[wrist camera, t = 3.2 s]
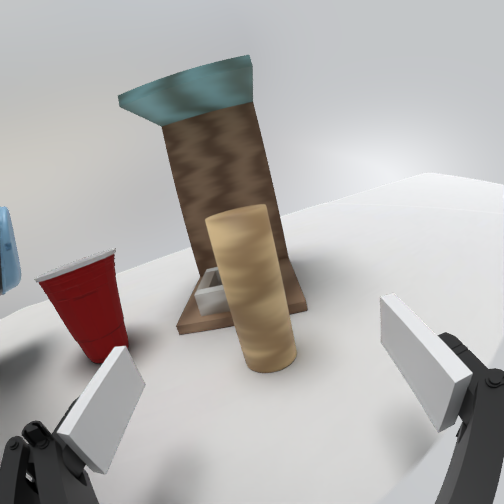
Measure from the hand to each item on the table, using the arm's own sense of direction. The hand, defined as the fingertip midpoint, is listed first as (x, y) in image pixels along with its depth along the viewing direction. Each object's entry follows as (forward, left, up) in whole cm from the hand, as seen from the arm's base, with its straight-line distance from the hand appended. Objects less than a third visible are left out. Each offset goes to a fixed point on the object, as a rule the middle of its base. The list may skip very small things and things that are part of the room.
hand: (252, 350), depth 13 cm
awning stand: (-3, +25, -7) cm, 27 cm away
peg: (0, +9, -7) cm, 12 cm away
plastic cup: (-20, +14, -8) cm, 26 cm away
